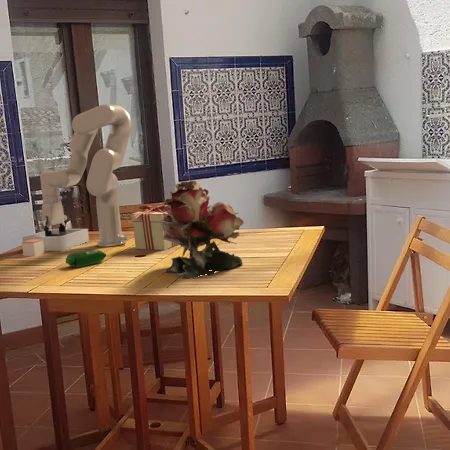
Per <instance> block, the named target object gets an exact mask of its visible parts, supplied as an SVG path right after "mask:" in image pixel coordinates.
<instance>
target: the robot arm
mask: <svg viewBox="0 0 450 450" xmlns="http://www.w3.org/2000/svg"><path fill="white" fill-rule="evenodd" d="M106 126H111V130H110V132H109V134H108V137H107V140H106V143H105V146H104V148H101V149H98V150H97V151H96V153H95V154H94V155H93V157H92V161H91V164H90V167H89V171H88V175H87V178H86V182H85V183H86V185H85V187H86V189H87V191H88V192H89V194H90V195H92V196H95V197H96V199H95V200H96V201H95V203H96V214H97V216H96V217H97V223H98V224H97V226H98V234H99V241H97V242H96V246H97V247H102V248H105V247H116V246H122V245H125V244H126V243H127V241H129V239H130V235H125V232H122V223H121V215H120V204H119V203H120V201H119V200H120V199H119V191H120V189H119V180H118V177H117V176H116V174H115V173H113V172H114V171H115V170H117V169H119V168H121V166H122V165H123V161H124V157H125V154H126V151H127V147H128V144H129V141H130V140H129V139H130V137H131V134H132V133H131V132H132V128H133V123H132V118H131V115H130V114H129V112H128V111H127V110H126V109H125V108H124V107H123V106H121V105H118V104H110V103H106V104H105V103H104V104H100V105H97V106H95V107H93V108H91V109H87V110H86V111H83V112H81V113H79V114H77V115H75V117H74V118H73V119H72V121H71V128H72V131H74V132H73V135H72V137H71V140H70V141H69V144H68V147H69V150H70V152H71V159H70V162H69V163H68V167H67V168H66V169H62V170H57V171H55V170H45V171H42V172H40V174H39V177H40V186H41V193H42V195H41V196H42V202H43V203H42V204H41V215H42V216H41V221H40V225H41V228H42V230H43V231H45V237H52V231H50V230H51V229H52V228H53V227H54V226H57V225H58V229H59V232H66V230H65V229H66V226H67V219H68V216H67V215H66V214H64V213H65V212H64V208H63V203H62V200H61V192H60V191H61V190H60V189H61V188H68V187H72V186H75V185H77V184H78V183H79V182H80V181H81V179H82V176H83V175H84V172H85V170H86V167H87V164H88V157H89V156H88V154H89V152H90V149H91V147H92V143H93V142H94V139H95V138H96V135H97V133H98V131H99V129H101V128H103V127H106Z"/></svg>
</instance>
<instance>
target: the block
mask: <svg viewBox="0 0 450 450" xmlns="http://www.w3.org/2000/svg"><path fill="white" fill-rule="evenodd" d="M63 235H66V232H52V237H60V236H63Z"/></svg>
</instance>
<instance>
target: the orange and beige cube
mask: <svg viewBox="0 0 450 450" xmlns="http://www.w3.org/2000/svg"><path fill="white" fill-rule="evenodd" d="M21 245H22V254H23V256H24V257H36V256H39V255H43V254H45V251H44V245H43V239H30V240H27V241H23V240H22V241H21Z"/></svg>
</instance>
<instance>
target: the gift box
mask: <svg viewBox="0 0 450 450" xmlns="http://www.w3.org/2000/svg"><path fill="white" fill-rule="evenodd" d="M167 207H168V206H167V205H165V206H164V205H162V204H161V205H158V206H156V207H154V206H152V205H141V206H139V207H138V209H140V210H139V211H137V212H134V213H131V214H130V215H131V222H132V227H133V234H134V245H135V250H144V251H145V250H147V251H167V250H168V249H171V248H173V247H176V246H179V245H178V244H176V243H173V242H171V241H167V240H164V239H162V238H163V237H164V231H163V228H162V225H161V223H162V222H163V221H162V220H163V219H164V217H166V216H167V215H168V213H167V209H164V208H167Z"/></svg>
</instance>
